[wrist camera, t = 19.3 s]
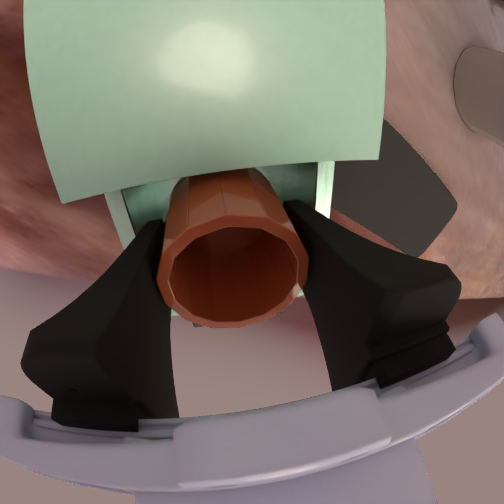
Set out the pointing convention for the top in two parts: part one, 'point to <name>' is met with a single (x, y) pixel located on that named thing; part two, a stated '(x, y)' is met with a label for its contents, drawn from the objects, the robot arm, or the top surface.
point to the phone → (394, 195)
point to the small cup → (229, 250)
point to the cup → (481, 91)
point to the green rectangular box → (201, 86)
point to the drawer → (280, 176)
